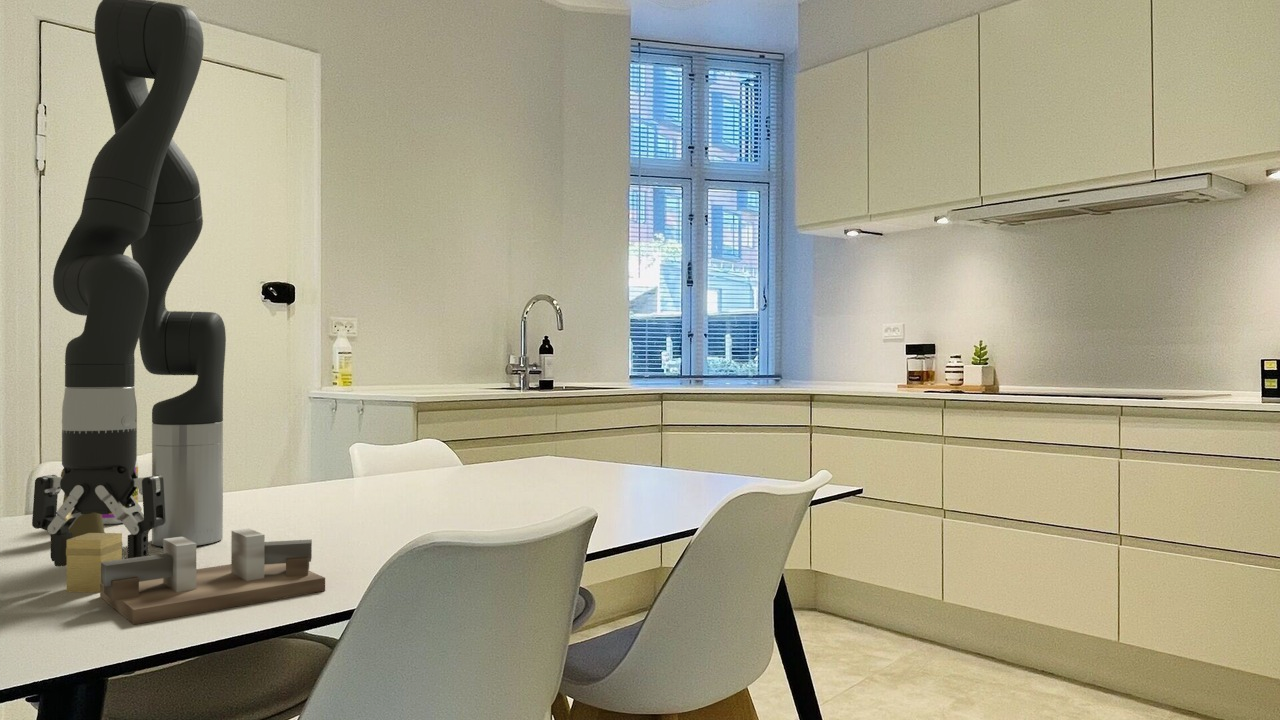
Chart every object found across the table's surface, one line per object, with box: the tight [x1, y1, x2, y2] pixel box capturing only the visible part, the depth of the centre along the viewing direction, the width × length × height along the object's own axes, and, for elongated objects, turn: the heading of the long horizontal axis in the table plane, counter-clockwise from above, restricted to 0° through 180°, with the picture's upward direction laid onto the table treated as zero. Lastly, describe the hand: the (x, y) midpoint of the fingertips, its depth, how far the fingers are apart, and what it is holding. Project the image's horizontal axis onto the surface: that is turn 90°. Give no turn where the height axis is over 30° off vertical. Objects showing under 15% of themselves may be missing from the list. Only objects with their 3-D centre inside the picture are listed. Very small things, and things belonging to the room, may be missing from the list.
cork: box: [60, 468, 106, 538], centre depth 134 cm, size 6×6×11 cm
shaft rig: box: [99, 528, 326, 626], centre depth 104 cm, size 14×22×6 cm, turn 133°
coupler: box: [66, 532, 123, 593], centre depth 107 cm, size 4×4×6 cm
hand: (99, 565), depth 107 cm, fingers open, 8 cm apart
